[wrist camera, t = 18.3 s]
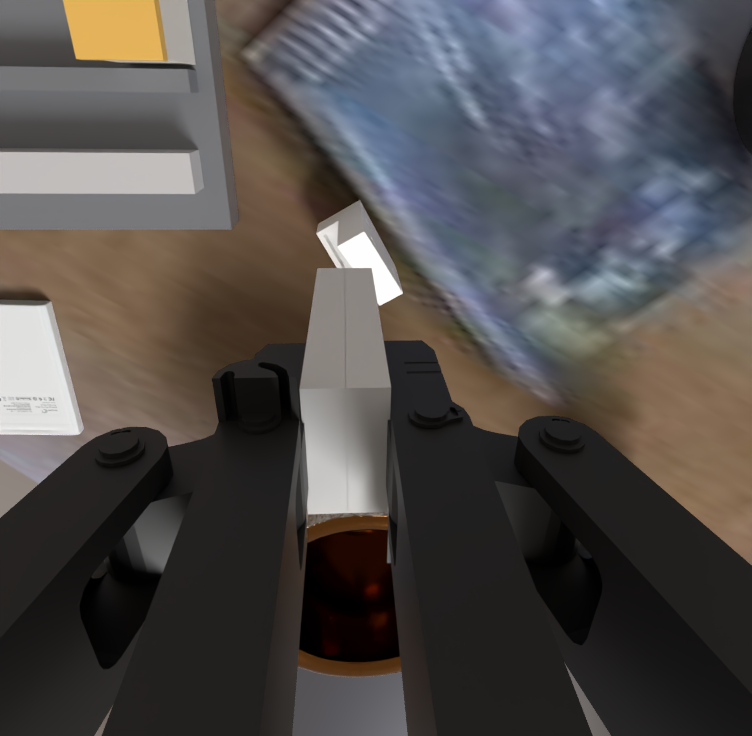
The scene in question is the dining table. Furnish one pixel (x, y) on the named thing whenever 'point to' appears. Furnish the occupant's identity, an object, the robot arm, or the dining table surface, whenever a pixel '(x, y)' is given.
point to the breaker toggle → (131, 31)
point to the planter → (348, 597)
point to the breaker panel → (110, 131)
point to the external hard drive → (34, 372)
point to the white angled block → (360, 248)
